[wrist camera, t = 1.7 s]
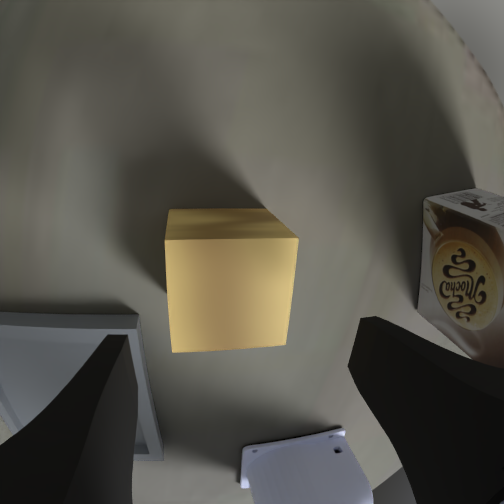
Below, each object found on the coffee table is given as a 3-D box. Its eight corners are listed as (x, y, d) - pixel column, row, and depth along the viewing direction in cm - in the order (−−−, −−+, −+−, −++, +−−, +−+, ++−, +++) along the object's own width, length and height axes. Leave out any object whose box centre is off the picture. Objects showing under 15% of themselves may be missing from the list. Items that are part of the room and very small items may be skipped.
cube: (265, 208, 17) (298, 238, 12) (259, 293, 19) (285, 344, 14) (169, 208, 16) (164, 240, 11) (172, 297, 18) (172, 352, 13)
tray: (138, 314, 17) (136, 329, 16) (163, 446, 22) (164, 460, 20) (-35, 309, 14) (-45, 320, 13) (25, 435, 19) (21, 447, 18)
